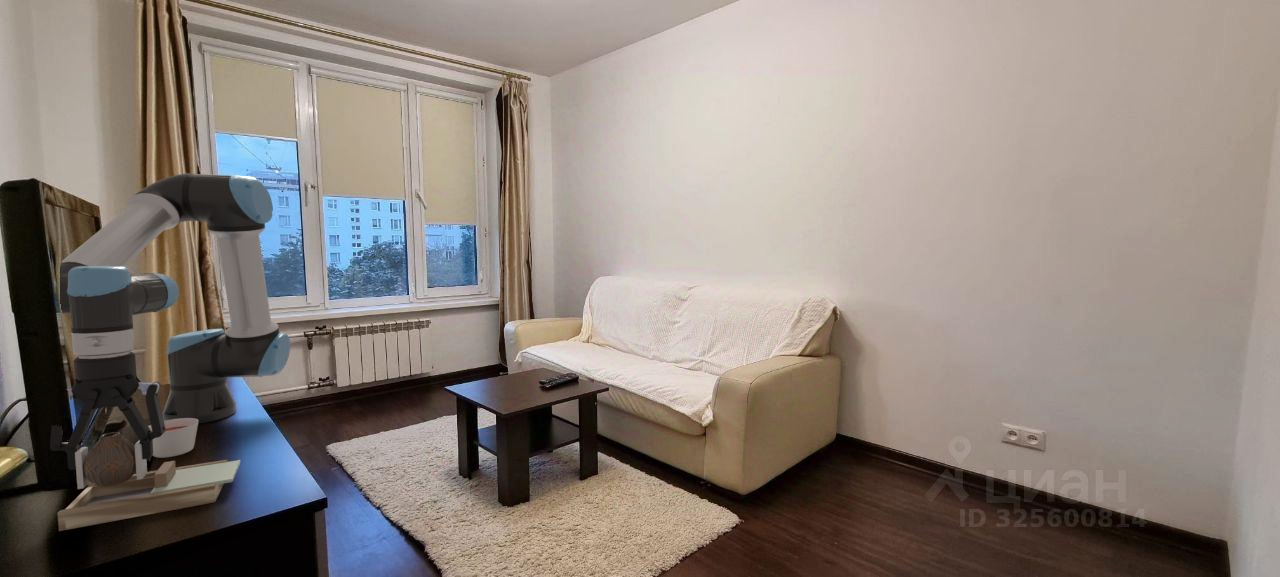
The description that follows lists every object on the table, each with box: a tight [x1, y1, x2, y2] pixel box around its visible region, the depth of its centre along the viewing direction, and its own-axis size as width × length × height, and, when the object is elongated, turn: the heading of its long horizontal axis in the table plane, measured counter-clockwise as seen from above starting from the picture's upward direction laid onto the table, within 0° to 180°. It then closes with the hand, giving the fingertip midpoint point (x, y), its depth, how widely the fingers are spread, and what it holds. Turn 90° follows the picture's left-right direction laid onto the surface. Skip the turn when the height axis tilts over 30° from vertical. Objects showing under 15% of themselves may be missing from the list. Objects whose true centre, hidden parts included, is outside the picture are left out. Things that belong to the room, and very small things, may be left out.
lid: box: [151, 459, 241, 495], centre depth 98 cm, size 10×11×3 cm
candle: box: [148, 418, 199, 459], centre depth 115 cm, size 9×9×6 cm
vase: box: [84, 431, 136, 487], centre depth 91 cm, size 7×7×9 cm
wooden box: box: [57, 459, 228, 532], centre depth 95 cm, size 13×20×3 cm, turn 121°
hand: (113, 480), depth 92 cm, fingers closed on vase, 7 cm apart
